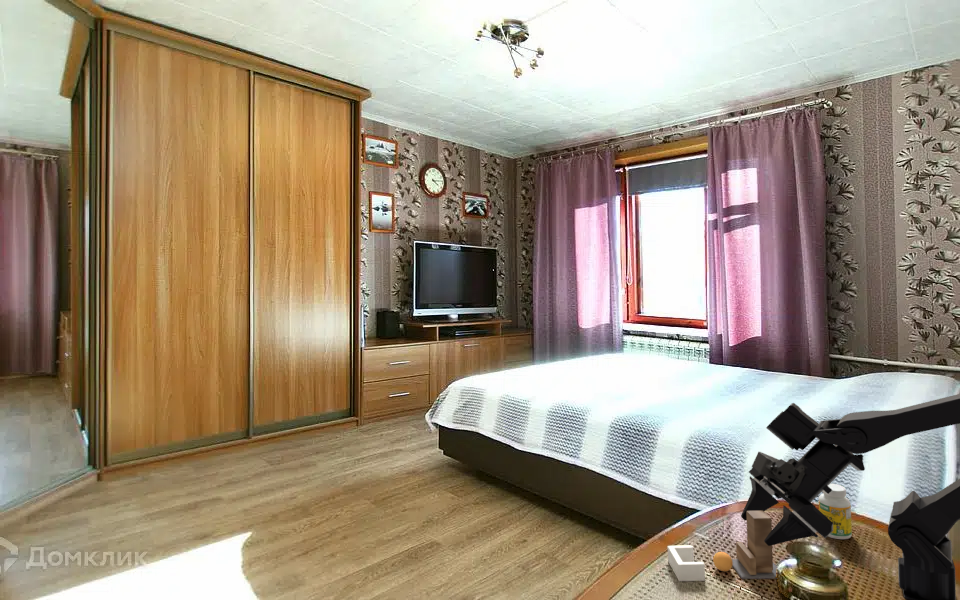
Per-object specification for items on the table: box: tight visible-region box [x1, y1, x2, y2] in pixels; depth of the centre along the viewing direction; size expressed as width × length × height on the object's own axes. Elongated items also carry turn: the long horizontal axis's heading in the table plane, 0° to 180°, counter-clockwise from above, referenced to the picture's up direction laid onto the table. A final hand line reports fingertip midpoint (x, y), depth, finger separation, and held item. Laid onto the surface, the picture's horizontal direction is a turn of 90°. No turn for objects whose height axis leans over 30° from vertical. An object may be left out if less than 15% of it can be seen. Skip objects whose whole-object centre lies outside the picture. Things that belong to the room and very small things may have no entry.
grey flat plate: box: [731, 558, 778, 580], centre depth 93 cm, size 8×6×1 cm
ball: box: [712, 551, 733, 572], centre depth 93 cm, size 3×3×3 cm
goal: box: [667, 544, 706, 582], centre depth 94 cm, size 4×6×3 cm
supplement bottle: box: [818, 482, 853, 540], centre depth 104 cm, size 5×5×10 cm
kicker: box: [735, 510, 774, 575], centre depth 93 cm, size 4×6×10 cm
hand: (754, 530), depth 93 cm, fingers open, 9 cm apart
